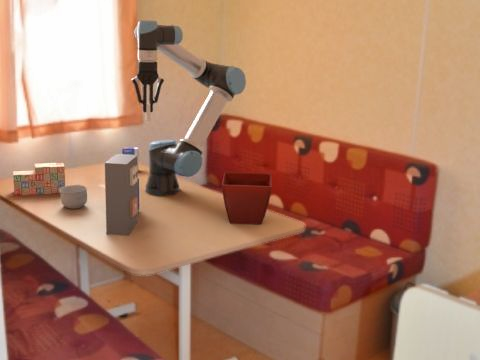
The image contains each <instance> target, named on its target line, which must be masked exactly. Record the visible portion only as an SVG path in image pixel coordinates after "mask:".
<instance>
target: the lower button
mask: <svg viewBox="0 0 480 360" xmlns="http://www.w3.org/2000/svg"><path fill="white" fill-rule="evenodd" d="M137 212H138V213H139V210H138V197H137V196H134V197H133V198H132V199H131V200H130V217H134V215H135V214H136V213H137Z"/></svg>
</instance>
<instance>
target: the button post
mask: <svg viewBox="0 0 480 360" xmlns="http://www.w3.org/2000/svg"><path fill="white" fill-rule="evenodd" d="M134 165H135V166H137V182H136V183H135V184H134V185H133V186H130V168H131V167H133V166H134ZM138 172H139V157H138V158H137V155H128V154H122V153H116V154H114V155H113V156H112V157H111V158H109V159H108V160H106V161H105V162H104V177H105V178H104V181H105V183H104V186H105V188H104V190H105V229H106V230H105V231H106V235H115V236H117V235H118V236H127V237H128V236H129V235H130V234H131V233H132V231H133V230H134V229H135V227H137V225H138V224H139V211H138V212H137V213H136V214H135V215H134V217H130V200H131V199H132V198H133V197H134V196H137V197H138V178H139V177H138V175H139V174H138Z"/></svg>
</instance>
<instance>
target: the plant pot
mask: <svg viewBox="0 0 480 360" xmlns="http://www.w3.org/2000/svg"><path fill="white" fill-rule="evenodd" d="M272 183H273V182H272V173H262V172H258V173H257V172H237V171H236V172H235V171H231V172H230V171H226V172H224V173H223V179H222V183H221V188H222V189H221V190H222V196H223V203H224V208H225V212H226V215H227V220H228V222H229V223H230V224H240V225H241V224H243V225H262V224H263V222H264V220H265V216H266V214H267V211H268V206H269V204H270V199H271V193H272V187H273V184H272Z"/></svg>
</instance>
